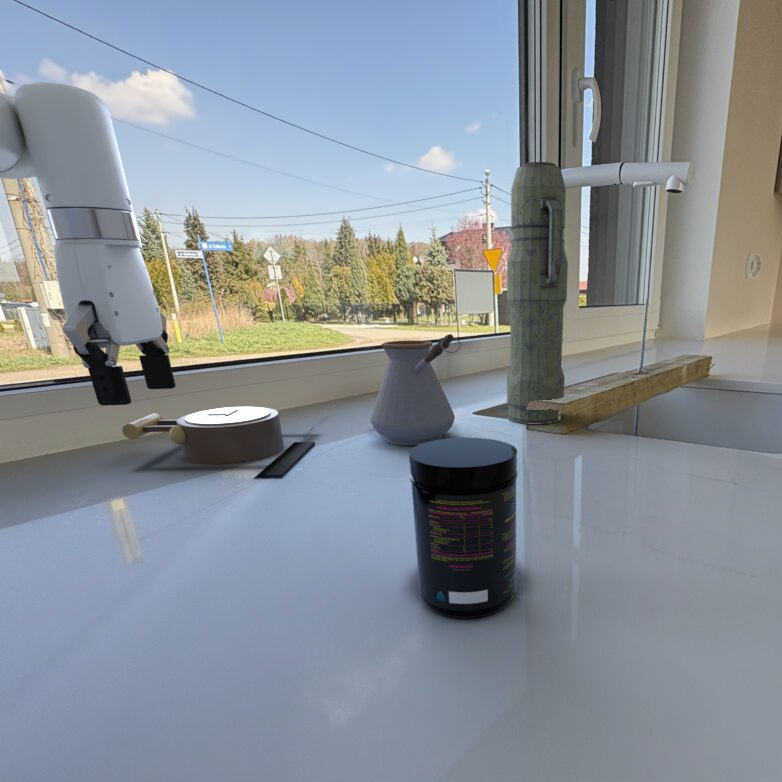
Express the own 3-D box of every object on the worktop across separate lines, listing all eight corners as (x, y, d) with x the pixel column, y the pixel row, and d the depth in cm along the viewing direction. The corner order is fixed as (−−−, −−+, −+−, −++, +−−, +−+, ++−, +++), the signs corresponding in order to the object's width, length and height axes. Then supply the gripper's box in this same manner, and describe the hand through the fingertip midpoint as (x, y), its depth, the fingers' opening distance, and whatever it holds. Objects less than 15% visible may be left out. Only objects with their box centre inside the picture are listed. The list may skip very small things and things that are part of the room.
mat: (142, 480, 62) (141, 477, 62) (200, 446, 75) (199, 443, 75) (282, 477, 63) (281, 474, 63) (315, 444, 76) (314, 441, 76)
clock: (117, 472, 63) (104, 426, 61) (167, 446, 73) (157, 405, 71) (267, 469, 64) (259, 423, 62) (296, 444, 74) (290, 403, 72)
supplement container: (506, 569, 43) (505, 434, 39) (527, 616, 37) (528, 463, 33) (416, 578, 42) (406, 440, 38) (422, 629, 36) (411, 470, 32)
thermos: (539, 408, 97) (543, 174, 84) (579, 422, 88) (590, 161, 75) (493, 414, 93) (490, 169, 80) (530, 429, 84) (533, 154, 71)
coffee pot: (363, 433, 81) (351, 324, 76) (438, 425, 86) (433, 321, 81) (409, 475, 64) (399, 337, 58) (501, 461, 69) (500, 332, 63)
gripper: (109, 238, 67) (147, 384, 73) (-6, 224, 51) (55, 413, 57) (174, 237, 67) (206, 382, 74) (80, 223, 51) (132, 411, 58)
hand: (140, 395), depth 66 cm, fingers open, 9 cm apart
